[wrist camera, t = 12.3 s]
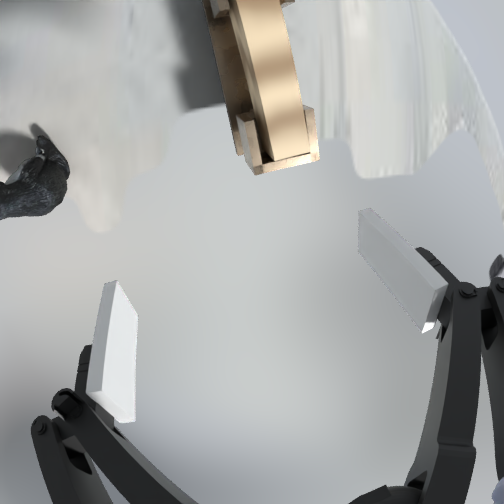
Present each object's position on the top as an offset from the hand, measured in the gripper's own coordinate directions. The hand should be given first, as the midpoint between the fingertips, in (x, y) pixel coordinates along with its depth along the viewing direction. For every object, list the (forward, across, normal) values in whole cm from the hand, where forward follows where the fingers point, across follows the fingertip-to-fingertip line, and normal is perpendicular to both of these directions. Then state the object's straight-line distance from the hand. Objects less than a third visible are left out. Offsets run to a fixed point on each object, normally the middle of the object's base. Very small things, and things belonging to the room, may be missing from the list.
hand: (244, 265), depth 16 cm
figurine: (+29, -22, +4) cm, 37 cm away
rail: (+22, +8, +8) cm, 25 cm away
